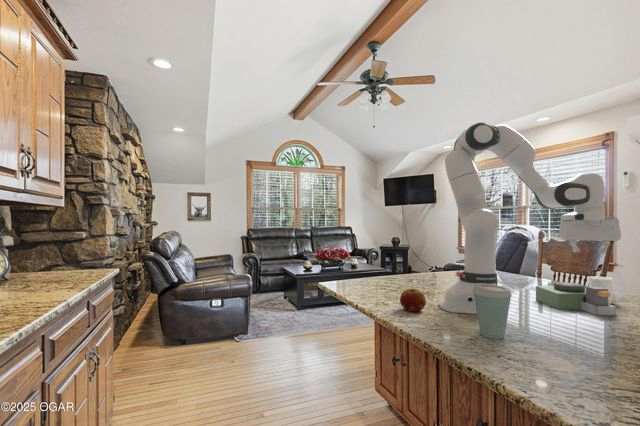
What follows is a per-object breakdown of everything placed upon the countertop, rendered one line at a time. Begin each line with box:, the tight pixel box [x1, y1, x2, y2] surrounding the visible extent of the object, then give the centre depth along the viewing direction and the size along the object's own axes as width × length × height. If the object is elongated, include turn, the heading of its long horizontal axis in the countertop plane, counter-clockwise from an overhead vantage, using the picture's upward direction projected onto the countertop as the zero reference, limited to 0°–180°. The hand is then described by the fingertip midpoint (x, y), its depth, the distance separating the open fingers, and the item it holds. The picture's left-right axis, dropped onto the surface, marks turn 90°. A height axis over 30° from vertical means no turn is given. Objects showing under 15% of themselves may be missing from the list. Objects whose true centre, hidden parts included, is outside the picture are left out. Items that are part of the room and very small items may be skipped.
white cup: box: [587, 275, 614, 305], centre depth 135 cm, size 8×8×10 cm
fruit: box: [399, 288, 427, 313], centre depth 125 cm, size 10×9×8 cm
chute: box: [585, 286, 610, 306], centre depth 120 cm, size 6×4×9 cm
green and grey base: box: [535, 281, 617, 316], centre depth 128 cm, size 18×21×8 cm
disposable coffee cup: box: [473, 283, 512, 340], centre depth 97 cm, size 11×11×15 cm
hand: (589, 252), depth 123 cm, fingers open, 8 cm apart
